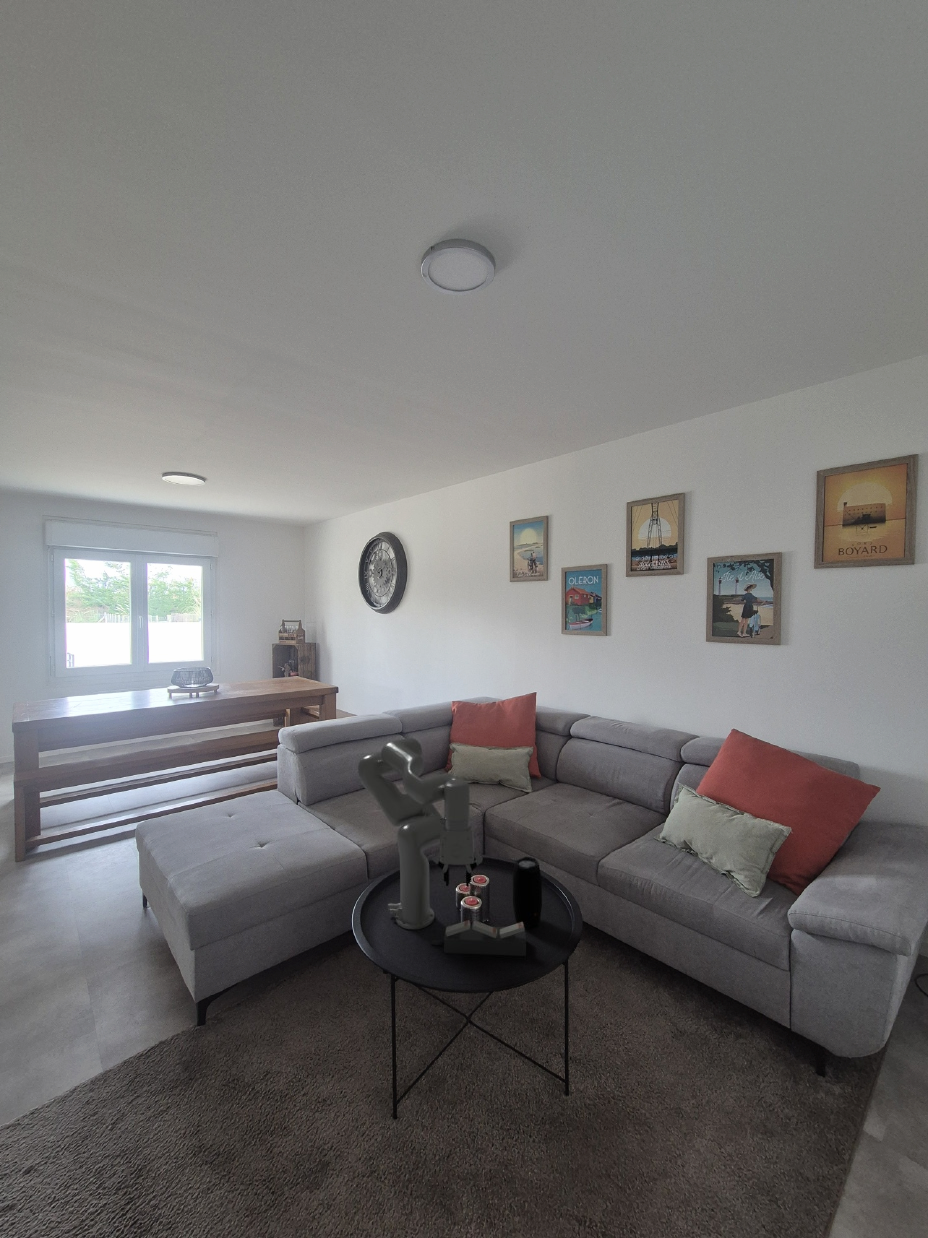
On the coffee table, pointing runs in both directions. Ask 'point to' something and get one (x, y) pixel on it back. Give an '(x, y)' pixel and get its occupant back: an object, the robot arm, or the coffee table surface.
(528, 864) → the portable speaker
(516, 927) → the rocker
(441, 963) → the coffee table surface
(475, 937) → the rocker switch box
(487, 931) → the rocker
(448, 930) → the rocker
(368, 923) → the coffee table surface
